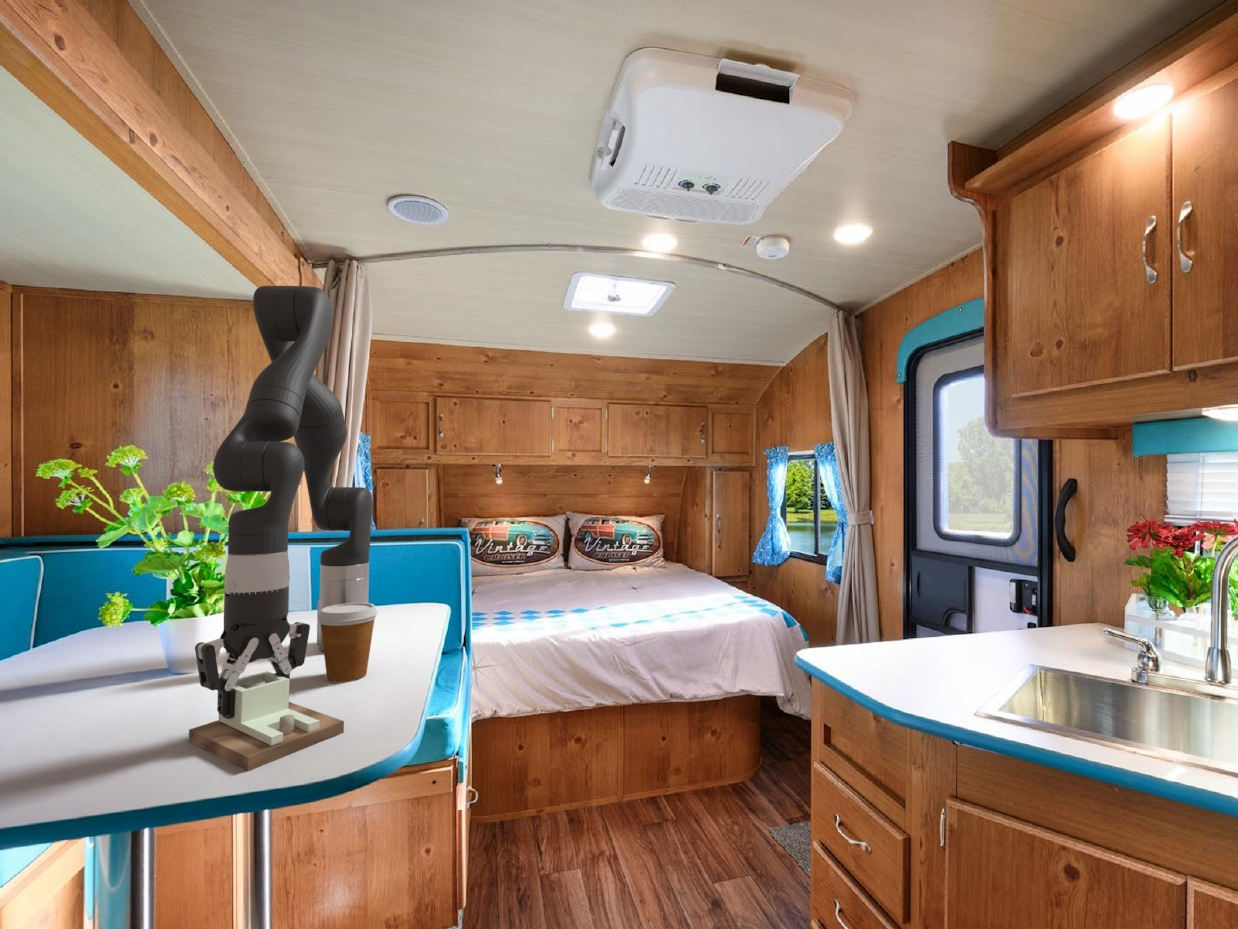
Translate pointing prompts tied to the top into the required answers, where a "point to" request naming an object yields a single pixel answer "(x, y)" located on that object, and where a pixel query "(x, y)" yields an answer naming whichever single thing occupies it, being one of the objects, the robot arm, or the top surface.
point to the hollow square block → (265, 708)
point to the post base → (257, 752)
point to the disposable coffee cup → (347, 639)
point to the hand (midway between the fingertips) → (254, 708)
